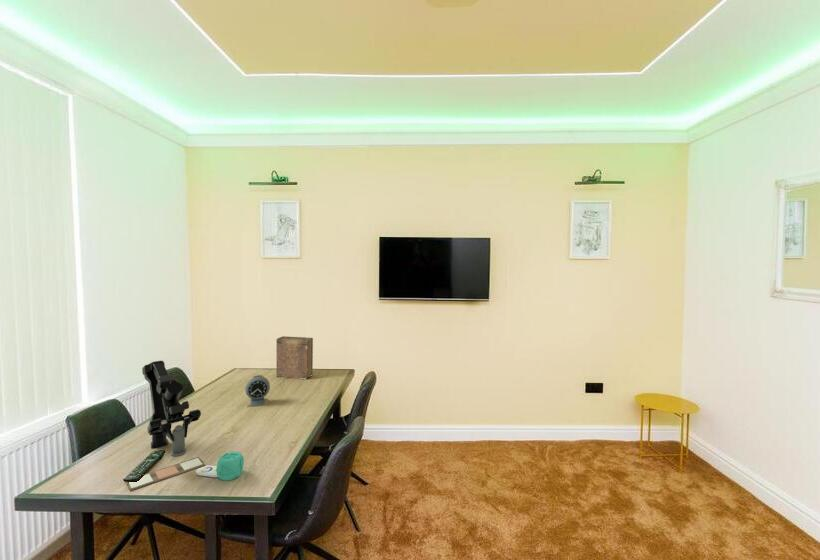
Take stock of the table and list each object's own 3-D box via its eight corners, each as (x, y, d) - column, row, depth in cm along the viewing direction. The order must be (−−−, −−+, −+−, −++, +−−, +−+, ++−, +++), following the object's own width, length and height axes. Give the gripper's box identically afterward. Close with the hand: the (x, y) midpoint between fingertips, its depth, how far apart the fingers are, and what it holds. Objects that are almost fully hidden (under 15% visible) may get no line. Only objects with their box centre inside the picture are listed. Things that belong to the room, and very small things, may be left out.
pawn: (174, 450, 159) (174, 422, 159) (188, 449, 160) (188, 422, 160) (168, 457, 154) (168, 428, 153) (183, 456, 155) (182, 427, 154)
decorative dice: (236, 480, 150) (236, 461, 150) (216, 481, 150) (216, 461, 149) (243, 469, 158) (243, 451, 158) (224, 470, 158) (224, 451, 157)
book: (312, 376, 290) (313, 337, 289) (307, 379, 281) (308, 340, 280) (282, 374, 294) (282, 336, 293) (276, 377, 285) (276, 338, 284)
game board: (125, 481, 148) (125, 480, 148) (198, 457, 167) (198, 456, 167) (130, 491, 142) (130, 490, 142) (205, 465, 161) (205, 464, 161)
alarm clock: (245, 407, 225) (245, 378, 225) (245, 402, 234) (245, 374, 233) (270, 404, 231) (270, 376, 230) (269, 399, 240) (269, 371, 239)
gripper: (149, 401, 152) (156, 437, 145) (199, 391, 165) (208, 423, 158) (144, 415, 158) (151, 450, 150) (194, 403, 171) (202, 435, 164)
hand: (179, 439), depth 156 cm, fingers closed on pawn, 4 cm apart
